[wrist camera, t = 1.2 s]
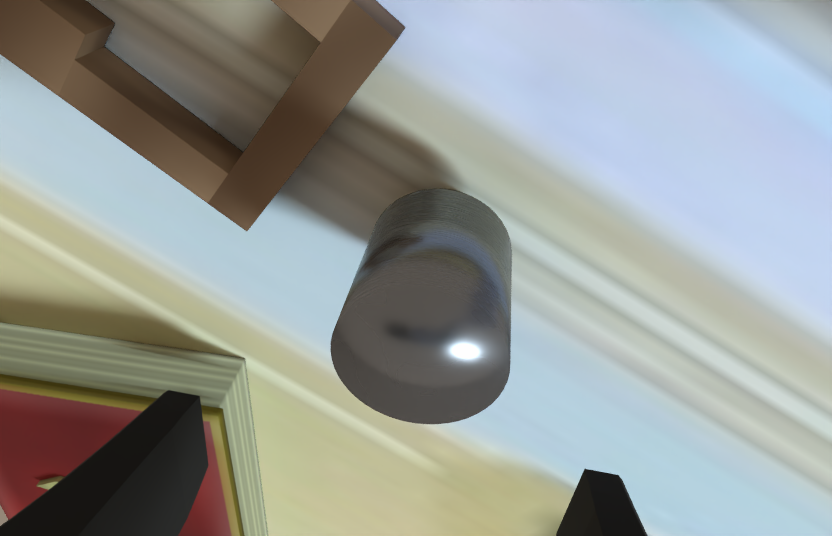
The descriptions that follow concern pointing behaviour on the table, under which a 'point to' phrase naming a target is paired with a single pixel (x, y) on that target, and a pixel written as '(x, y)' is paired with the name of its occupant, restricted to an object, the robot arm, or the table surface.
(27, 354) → the hardcover book
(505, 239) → the peg
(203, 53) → the table surface
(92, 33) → the keyhole plate
